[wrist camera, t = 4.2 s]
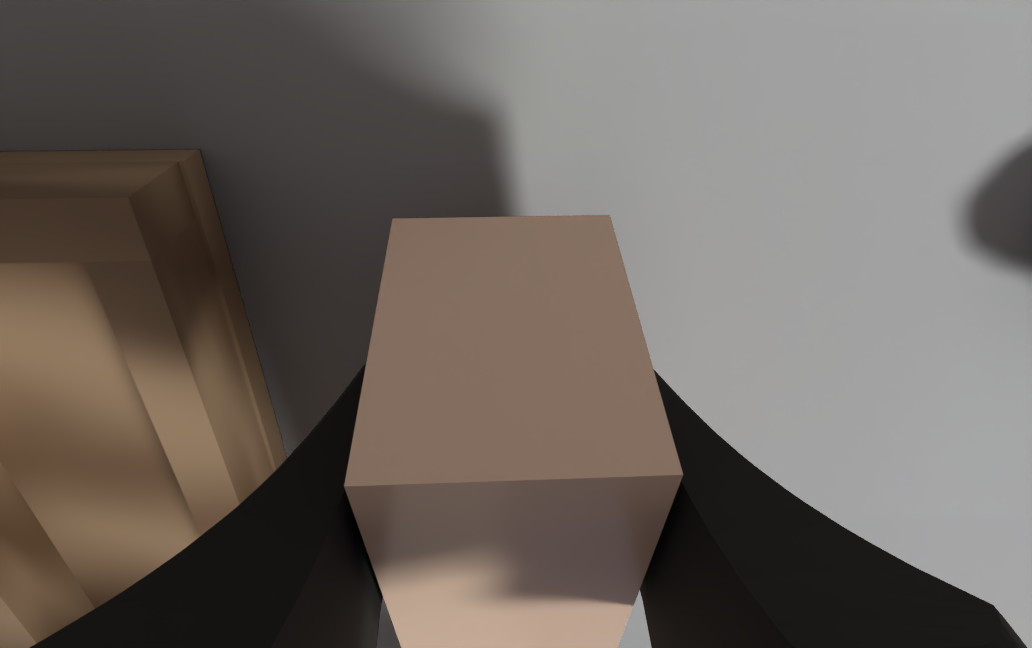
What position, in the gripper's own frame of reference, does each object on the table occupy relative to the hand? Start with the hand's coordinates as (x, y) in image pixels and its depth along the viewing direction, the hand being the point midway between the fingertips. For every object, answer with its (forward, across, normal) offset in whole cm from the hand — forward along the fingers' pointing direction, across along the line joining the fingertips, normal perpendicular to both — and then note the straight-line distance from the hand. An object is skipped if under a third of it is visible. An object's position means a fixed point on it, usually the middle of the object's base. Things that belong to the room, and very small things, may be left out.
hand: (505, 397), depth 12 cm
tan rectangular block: (+2, 0, +3) cm, 4 cm away
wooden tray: (+4, +10, +5) cm, 12 cm away
